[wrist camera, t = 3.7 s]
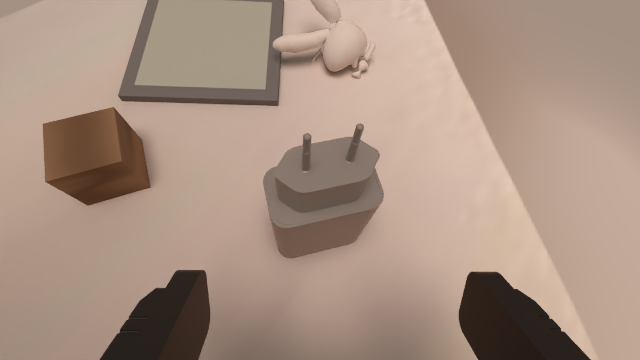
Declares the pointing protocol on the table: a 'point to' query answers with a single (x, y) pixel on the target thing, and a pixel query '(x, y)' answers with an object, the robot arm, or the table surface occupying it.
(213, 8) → the pad
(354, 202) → the power adapter
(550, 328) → the robot arm
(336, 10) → the rabbit figurine
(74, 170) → the walnut block
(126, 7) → the table surface
